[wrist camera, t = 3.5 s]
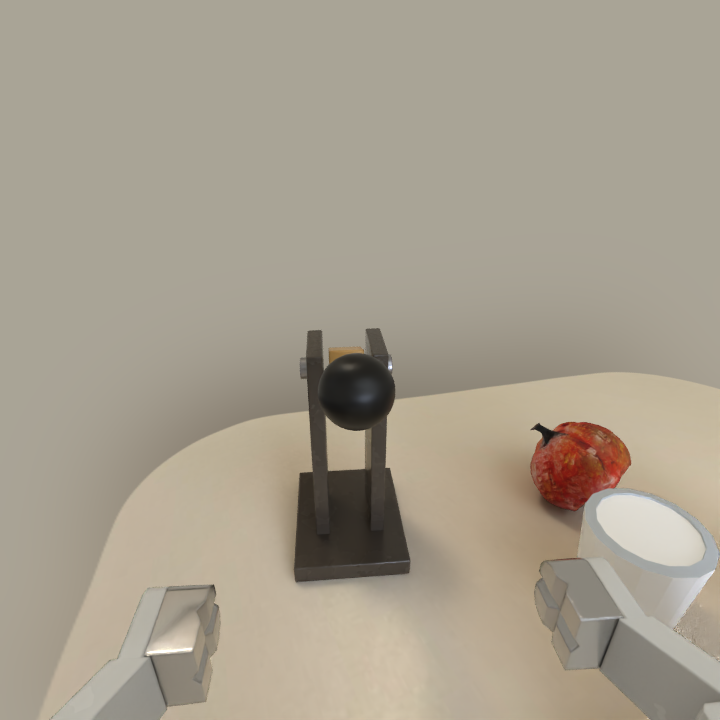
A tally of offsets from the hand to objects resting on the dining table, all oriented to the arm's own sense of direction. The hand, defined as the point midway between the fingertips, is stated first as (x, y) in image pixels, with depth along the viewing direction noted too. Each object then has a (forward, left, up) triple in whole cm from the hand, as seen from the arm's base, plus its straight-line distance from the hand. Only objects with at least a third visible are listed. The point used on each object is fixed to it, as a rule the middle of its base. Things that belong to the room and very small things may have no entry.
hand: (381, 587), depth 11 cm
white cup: (+20, +2, -18) cm, 27 cm away
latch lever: (+6, +12, -3) cm, 14 cm away
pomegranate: (+26, +10, -18) cm, 33 cm away
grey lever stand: (+8, +17, -17) cm, 26 cm away
